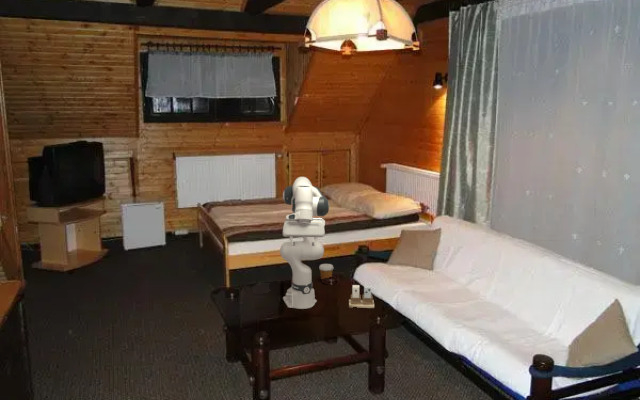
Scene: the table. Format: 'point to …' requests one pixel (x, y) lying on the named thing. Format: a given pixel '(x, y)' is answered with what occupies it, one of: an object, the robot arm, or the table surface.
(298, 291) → the robot arm
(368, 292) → the key two
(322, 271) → the disposable coffee cup
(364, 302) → the key console
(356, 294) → the key one
